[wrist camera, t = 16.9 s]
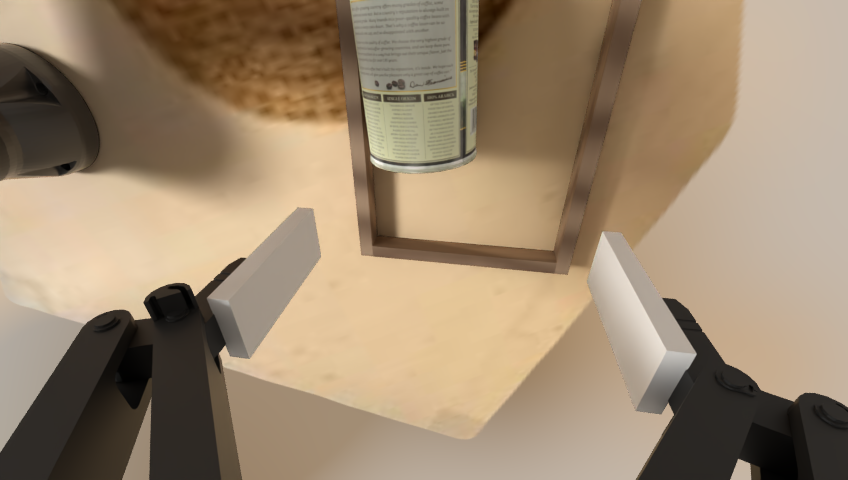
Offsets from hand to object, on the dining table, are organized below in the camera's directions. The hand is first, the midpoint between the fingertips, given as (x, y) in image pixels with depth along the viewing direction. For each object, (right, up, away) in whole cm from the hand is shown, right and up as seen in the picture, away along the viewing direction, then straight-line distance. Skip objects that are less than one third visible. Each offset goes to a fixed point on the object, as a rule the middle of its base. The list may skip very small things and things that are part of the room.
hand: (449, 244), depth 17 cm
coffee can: (-1, +8, +18) cm, 20 cm away
